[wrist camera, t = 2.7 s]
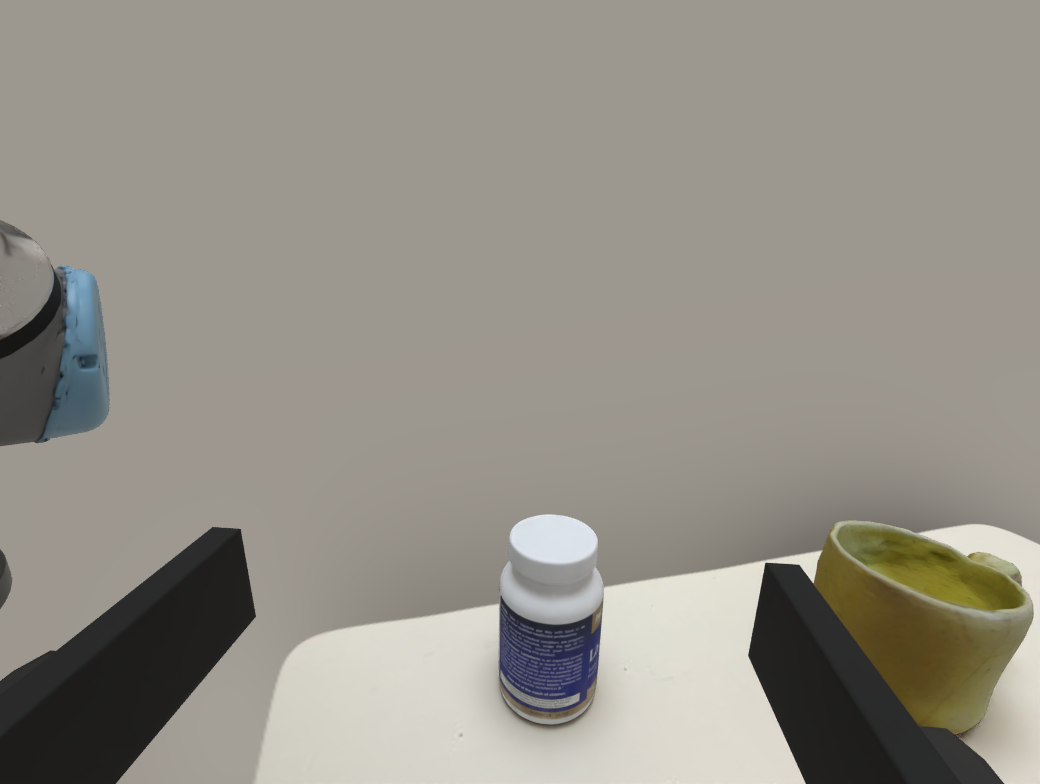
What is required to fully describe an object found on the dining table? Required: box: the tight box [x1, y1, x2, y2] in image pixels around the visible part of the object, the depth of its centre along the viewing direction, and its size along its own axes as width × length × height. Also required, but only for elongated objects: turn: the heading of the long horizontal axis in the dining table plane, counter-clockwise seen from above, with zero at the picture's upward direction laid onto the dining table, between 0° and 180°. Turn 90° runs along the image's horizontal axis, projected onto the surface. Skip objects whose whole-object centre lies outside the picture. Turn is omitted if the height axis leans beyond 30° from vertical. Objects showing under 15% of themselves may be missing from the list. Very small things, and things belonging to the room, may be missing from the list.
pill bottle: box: [498, 515, 604, 724], centre depth 27 cm, size 6×6×10 cm
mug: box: [814, 520, 1034, 734], centre depth 28 cm, size 12×10×10 cm
